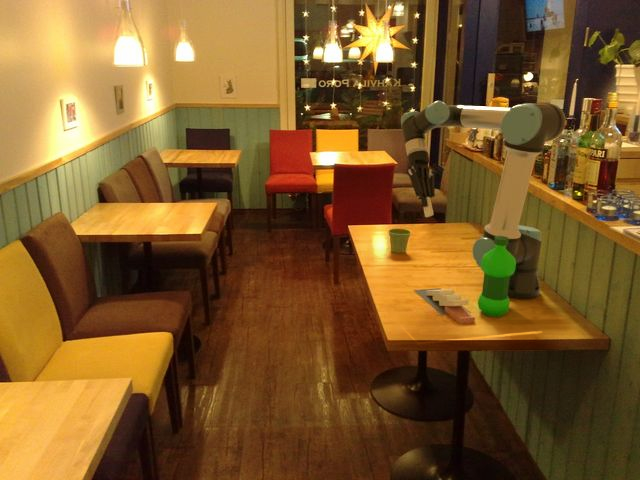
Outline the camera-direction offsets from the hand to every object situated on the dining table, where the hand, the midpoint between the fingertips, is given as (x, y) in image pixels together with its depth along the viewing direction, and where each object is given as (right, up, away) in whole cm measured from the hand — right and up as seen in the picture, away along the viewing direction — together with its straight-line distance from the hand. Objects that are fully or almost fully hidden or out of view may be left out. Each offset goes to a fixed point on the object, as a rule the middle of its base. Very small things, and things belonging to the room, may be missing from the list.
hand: (429, 215), depth 211 cm
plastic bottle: (+16, -32, -21) cm, 41 cm away
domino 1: (0, -26, -8) cm, 27 cm away
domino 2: (+1, -27, -12) cm, 30 cm away
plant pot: (-6, -13, +41) cm, 43 cm away
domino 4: (+3, -30, -20) cm, 36 cm away
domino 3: (+2, -29, -17) cm, 33 cm away
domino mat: (+1, -29, -13) cm, 32 cm away
